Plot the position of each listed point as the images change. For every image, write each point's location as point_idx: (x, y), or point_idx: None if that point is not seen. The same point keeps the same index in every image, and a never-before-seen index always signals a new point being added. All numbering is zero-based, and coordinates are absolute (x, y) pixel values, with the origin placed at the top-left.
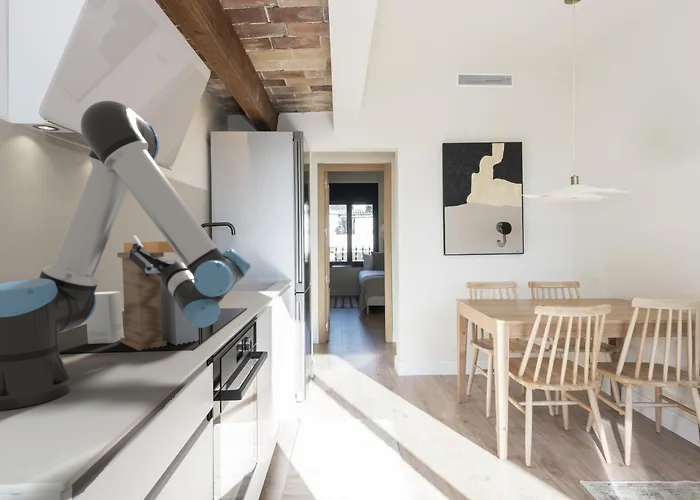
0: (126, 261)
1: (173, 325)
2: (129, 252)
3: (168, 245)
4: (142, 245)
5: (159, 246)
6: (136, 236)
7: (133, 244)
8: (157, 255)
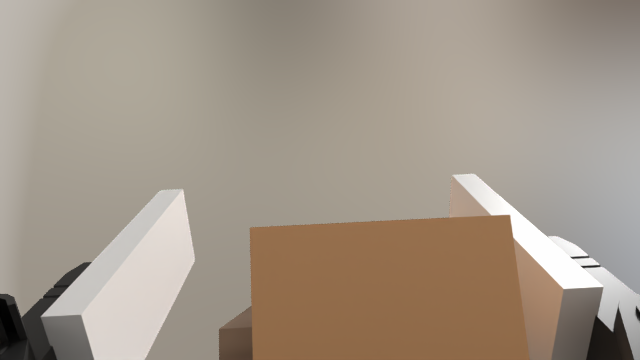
0: None
1: None
2: None
3: (426, 295)
4: (97, 290)
5: (257, 319)
6: (175, 196)
7: (72, 273)
8: None
